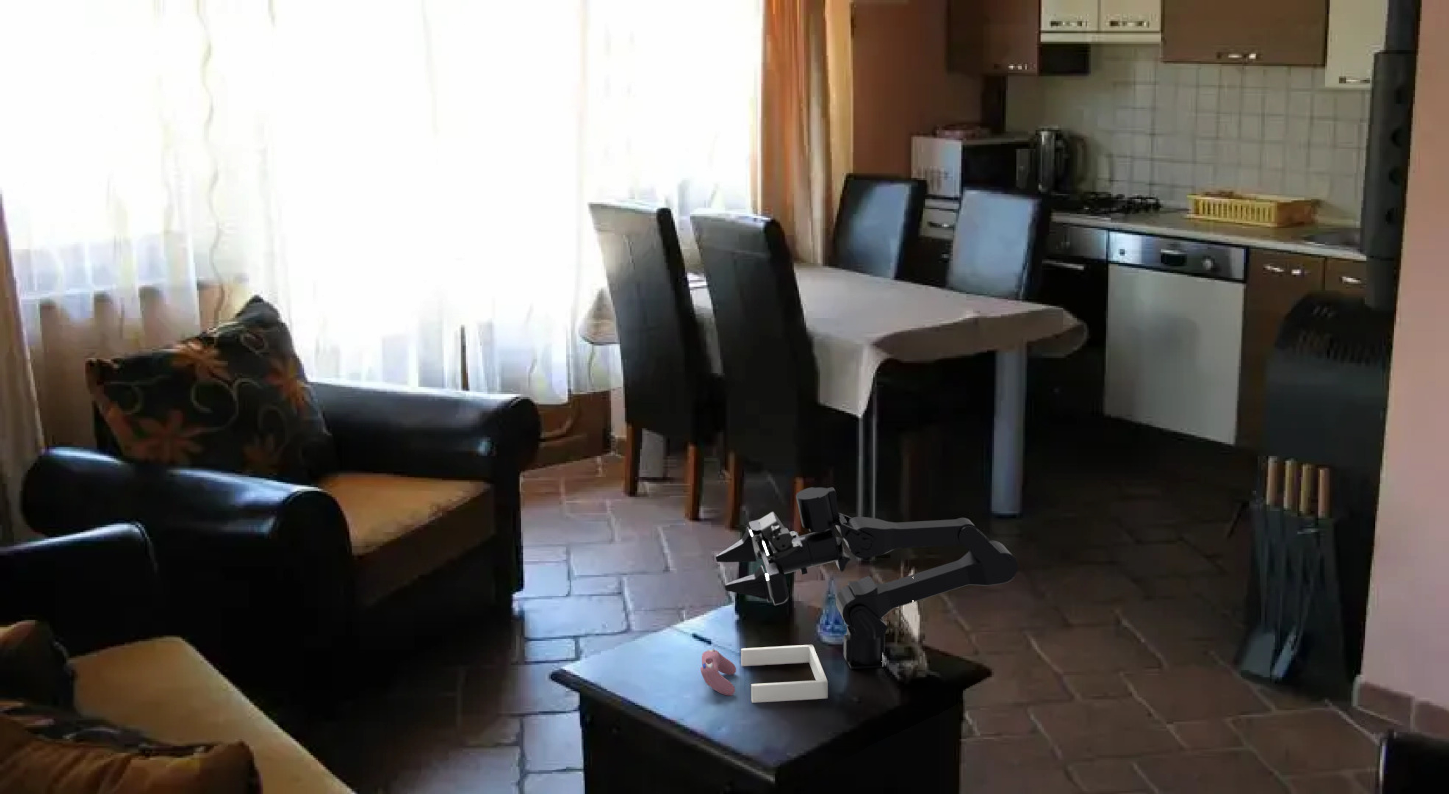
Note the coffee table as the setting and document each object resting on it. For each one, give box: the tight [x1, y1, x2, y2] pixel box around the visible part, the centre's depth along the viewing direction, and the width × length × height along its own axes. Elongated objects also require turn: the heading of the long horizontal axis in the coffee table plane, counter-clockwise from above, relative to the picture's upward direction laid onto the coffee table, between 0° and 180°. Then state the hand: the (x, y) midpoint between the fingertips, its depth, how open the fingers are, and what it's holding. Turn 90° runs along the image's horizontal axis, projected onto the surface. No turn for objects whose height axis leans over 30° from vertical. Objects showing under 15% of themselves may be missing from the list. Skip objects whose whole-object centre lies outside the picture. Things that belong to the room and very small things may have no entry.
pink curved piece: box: [700, 648, 737, 697], centre depth 258 cm, size 10×5×7 cm, turn 178°
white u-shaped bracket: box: [740, 644, 829, 704], centre depth 259 cm, size 13×16×3 cm
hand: (720, 573), depth 259 cm, fingers open, 9 cm apart
